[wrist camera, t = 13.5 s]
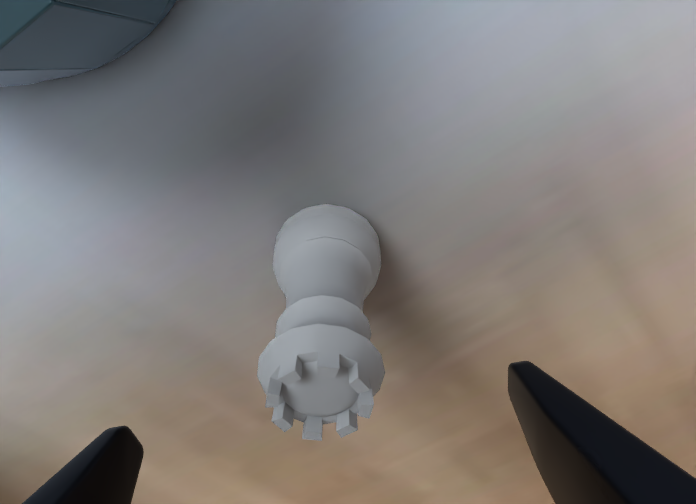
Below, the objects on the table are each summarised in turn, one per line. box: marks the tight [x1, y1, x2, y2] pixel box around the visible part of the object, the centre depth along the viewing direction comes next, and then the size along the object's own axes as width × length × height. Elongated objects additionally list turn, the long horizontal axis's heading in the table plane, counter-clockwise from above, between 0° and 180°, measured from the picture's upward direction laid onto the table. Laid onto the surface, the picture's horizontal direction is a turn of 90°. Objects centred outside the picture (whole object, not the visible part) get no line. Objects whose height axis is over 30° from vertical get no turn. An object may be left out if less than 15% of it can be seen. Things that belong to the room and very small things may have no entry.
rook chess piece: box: [257, 204, 385, 441], centre depth 12 cm, size 4×4×8 cm
